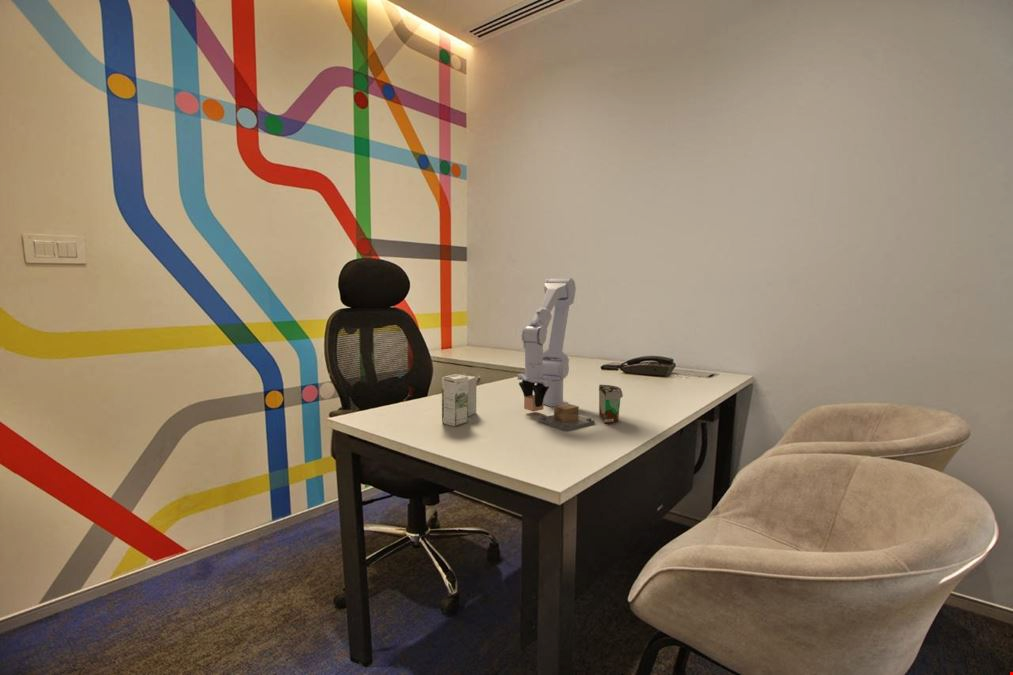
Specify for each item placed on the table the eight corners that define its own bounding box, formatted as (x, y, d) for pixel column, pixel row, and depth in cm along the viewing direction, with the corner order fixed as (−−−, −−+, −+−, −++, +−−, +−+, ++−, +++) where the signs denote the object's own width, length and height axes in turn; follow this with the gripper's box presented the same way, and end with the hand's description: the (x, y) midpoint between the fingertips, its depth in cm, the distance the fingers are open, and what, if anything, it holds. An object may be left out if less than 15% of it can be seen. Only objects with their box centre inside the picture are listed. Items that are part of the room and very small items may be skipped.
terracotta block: (524, 408, 158) (524, 396, 158) (534, 406, 161) (534, 394, 160) (533, 411, 155) (533, 399, 154) (543, 409, 157) (543, 397, 157)
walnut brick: (553, 419, 147) (554, 406, 147) (568, 416, 151) (568, 403, 150) (564, 422, 144) (564, 409, 143) (578, 419, 147) (578, 406, 147)
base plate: (538, 421, 148) (538, 416, 148) (566, 415, 156) (566, 410, 156) (566, 431, 139) (566, 425, 139) (594, 423, 146) (594, 418, 146)
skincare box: (465, 411, 160) (464, 375, 159) (477, 413, 158) (477, 376, 157) (455, 416, 155) (455, 378, 153) (468, 417, 153) (467, 379, 151)
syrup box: (455, 419, 151) (454, 373, 149) (468, 422, 147) (468, 375, 146) (441, 423, 146) (440, 376, 145) (455, 427, 143) (454, 378, 141)
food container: (626, 426, 144) (627, 393, 143) (605, 426, 144) (606, 392, 143) (617, 414, 156) (618, 384, 155) (598, 414, 156) (599, 384, 155)
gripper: (510, 361, 159) (510, 402, 161) (539, 367, 148) (539, 411, 149) (526, 359, 164) (526, 399, 165) (556, 365, 152) (556, 407, 154)
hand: (533, 404), depth 158 cm, fingers closed on terracotta block, 4 cm apart
